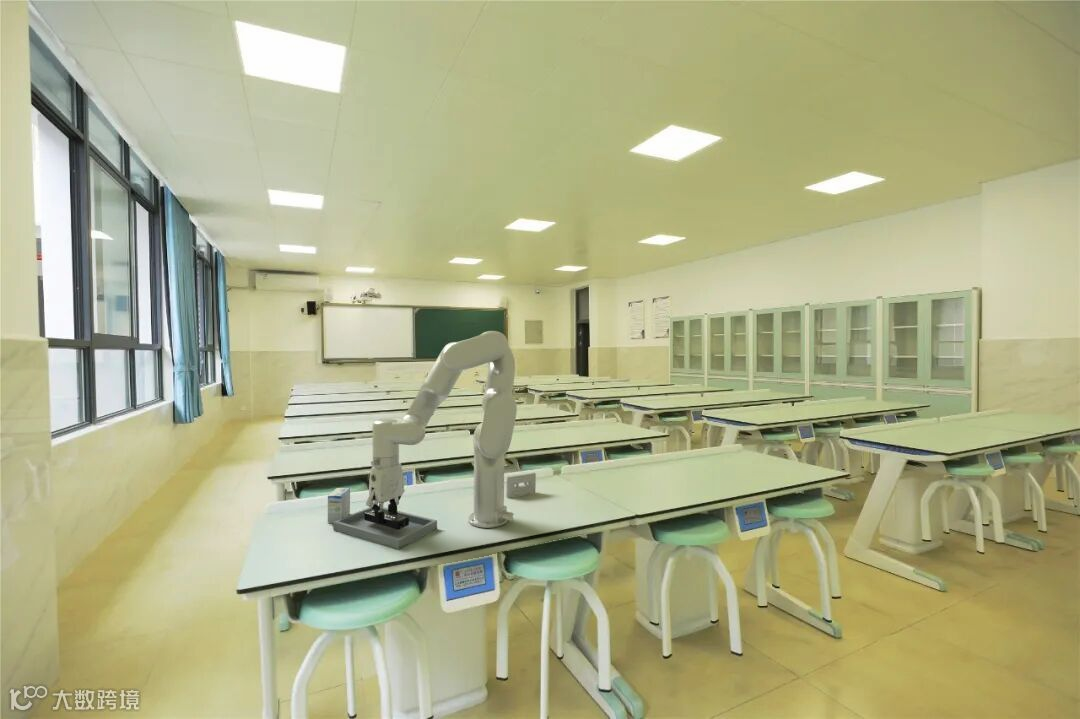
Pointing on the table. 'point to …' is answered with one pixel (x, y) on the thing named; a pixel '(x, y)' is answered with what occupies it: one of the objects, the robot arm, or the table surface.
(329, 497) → the medicine box
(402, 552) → the table surface
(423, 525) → the tray
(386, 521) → the multiport hub
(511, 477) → the cassette
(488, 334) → the robot arm
